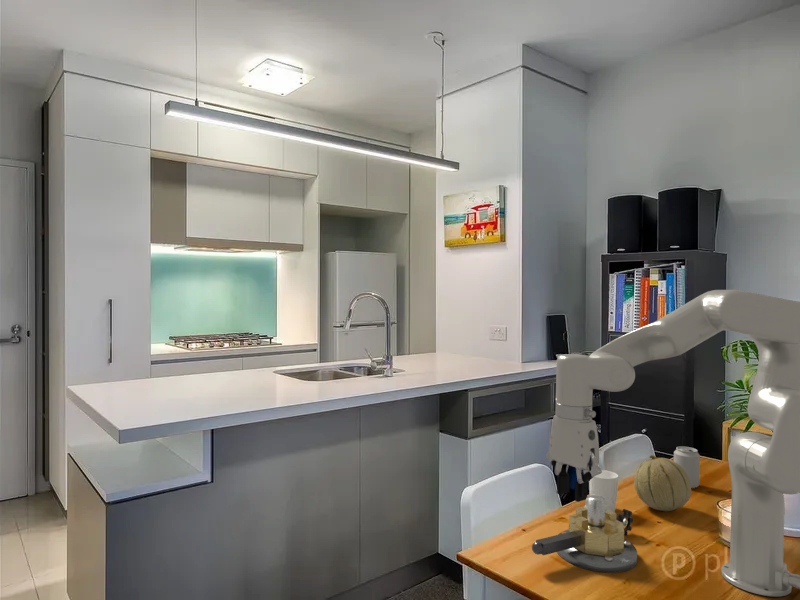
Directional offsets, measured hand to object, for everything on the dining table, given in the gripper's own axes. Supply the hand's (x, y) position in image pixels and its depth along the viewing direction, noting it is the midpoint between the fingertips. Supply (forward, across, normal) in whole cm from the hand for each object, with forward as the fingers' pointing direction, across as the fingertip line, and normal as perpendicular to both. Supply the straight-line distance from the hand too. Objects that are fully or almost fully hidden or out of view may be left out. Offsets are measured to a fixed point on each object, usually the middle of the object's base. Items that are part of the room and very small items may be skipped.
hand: (571, 495), depth 119 cm
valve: (+18, +12, -28) cm, 35 cm away
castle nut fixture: (+15, +5, -7) cm, 17 cm away
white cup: (+18, +20, -38) cm, 47 cm away
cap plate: (+17, +4, -13) cm, 22 cm away
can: (+18, +19, -79) cm, 83 cm away
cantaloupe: (+18, +12, -53) cm, 57 cm away
